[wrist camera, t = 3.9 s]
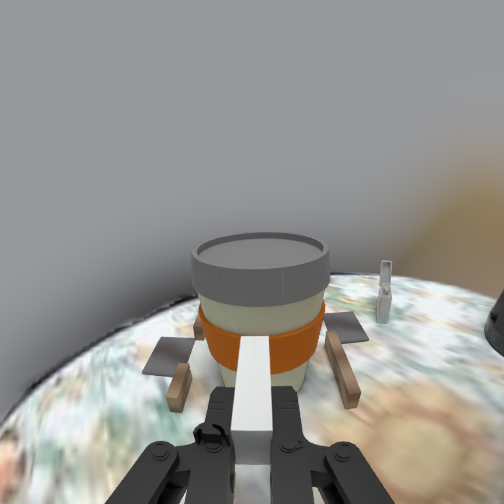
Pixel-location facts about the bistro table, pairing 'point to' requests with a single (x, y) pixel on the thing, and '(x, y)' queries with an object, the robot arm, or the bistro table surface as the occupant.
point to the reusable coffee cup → (262, 298)
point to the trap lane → (178, 349)
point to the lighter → (384, 292)
